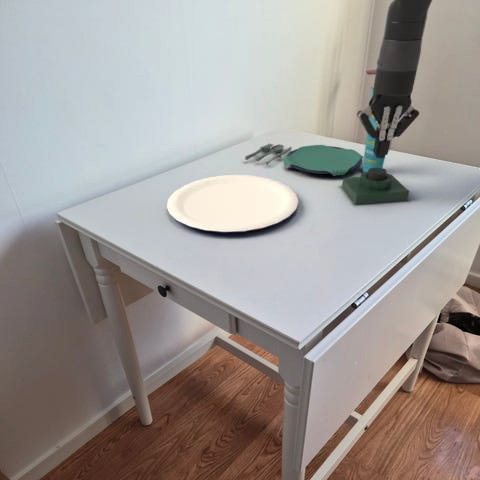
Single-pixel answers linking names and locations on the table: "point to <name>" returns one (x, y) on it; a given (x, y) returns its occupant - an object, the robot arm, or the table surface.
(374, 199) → the pump base
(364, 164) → the tube
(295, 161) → the cutlery set
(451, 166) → the table surface
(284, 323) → the table surface
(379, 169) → the button
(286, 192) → the plate
